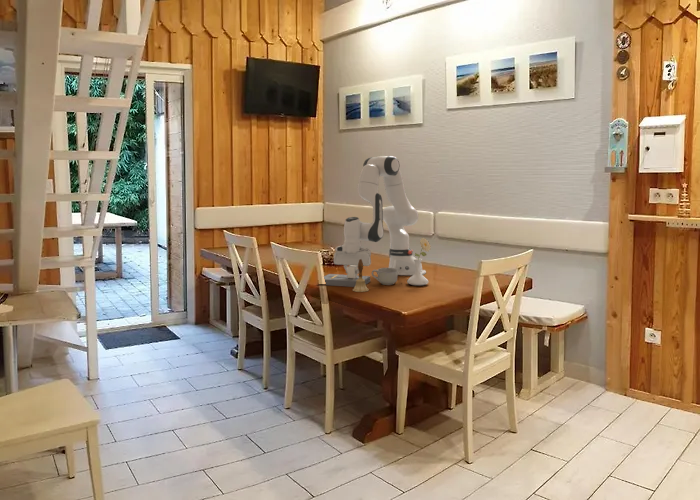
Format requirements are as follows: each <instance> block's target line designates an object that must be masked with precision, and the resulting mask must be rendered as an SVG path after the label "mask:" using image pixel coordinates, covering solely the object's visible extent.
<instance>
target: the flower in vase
mask: <svg viewBox="0 0 700 500" xmlns="http://www.w3.org/2000/svg"><path fill="white" fill-rule="evenodd" d="M419 244H420V247H421V249H420V253H417V252H415V253H414V257H415V256H416V257H417V258H416V259H413V260H414V262H415V265H416V271H415V274H414V275H410V277H409V278H408V279H407V281H406V282H407V284H408V285H412V286H416V287H417V286H426V285H428V284H429V279H427V278H426V277H425V276H424V274H423V275H422V274H421V273H420V264H422V261H423V258H421V256H422V257H427V255H428V254H427V253H426V252H430V251H431V247H432V245H431V244H430V243H429V240H428V239H426V238H425V237H422V238H420V241H419ZM424 251H425V252H424Z"/></svg>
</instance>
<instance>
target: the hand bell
mask: <svg viewBox="0 0 700 500" xmlns="http://www.w3.org/2000/svg"><path fill="white" fill-rule="evenodd" d="M357 269H359V274H358V276H359V279H357V280H356V285H355V287H353V288H352V292H356V293H365V292H369V290H370V289H369V288H368V287H367V284H365V280H364V279H362V276H363V269H364V266H363V262H362V259H359V263H358V267H357Z"/></svg>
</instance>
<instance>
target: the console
mask: <svg viewBox="0 0 700 500" xmlns="http://www.w3.org/2000/svg"><path fill="white" fill-rule="evenodd" d="M323 277H324V279H325V282H326V285H325V286H333V287H334V286H335V287H348V288H349V287H350V288H354V287H355V285H356V280H357V279H359V275H357V277H356V278H347V274H337V273H336V274H335V273H328V274H326V275H324V276H323ZM362 279H364V280H365V284H366V285H368V284H369V283H371V276H369V275H362Z"/></svg>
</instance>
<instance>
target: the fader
mask: <svg viewBox="0 0 700 500" xmlns="http://www.w3.org/2000/svg"><path fill="white" fill-rule="evenodd" d="M357 269H358V267H357V266H356V265H347V273H346V275H347V278H356V277H357V276H358V274H356V272H355V271H356V270H357Z"/></svg>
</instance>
